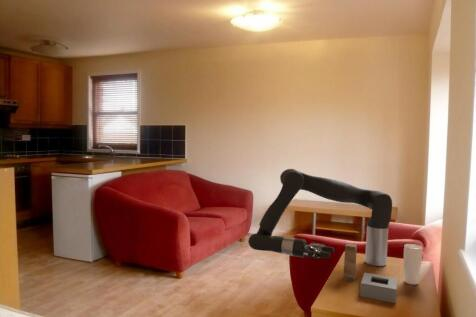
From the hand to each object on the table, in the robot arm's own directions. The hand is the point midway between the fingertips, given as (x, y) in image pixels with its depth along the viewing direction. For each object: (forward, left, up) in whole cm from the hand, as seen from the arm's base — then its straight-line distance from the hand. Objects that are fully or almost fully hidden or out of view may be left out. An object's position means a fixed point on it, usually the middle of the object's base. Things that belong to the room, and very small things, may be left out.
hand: (331, 253), depth 160 cm
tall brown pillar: (0, +8, -9) cm, 12 cm away
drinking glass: (-8, +31, -10) cm, 33 cm away
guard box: (+10, +20, -9) cm, 24 cm away
